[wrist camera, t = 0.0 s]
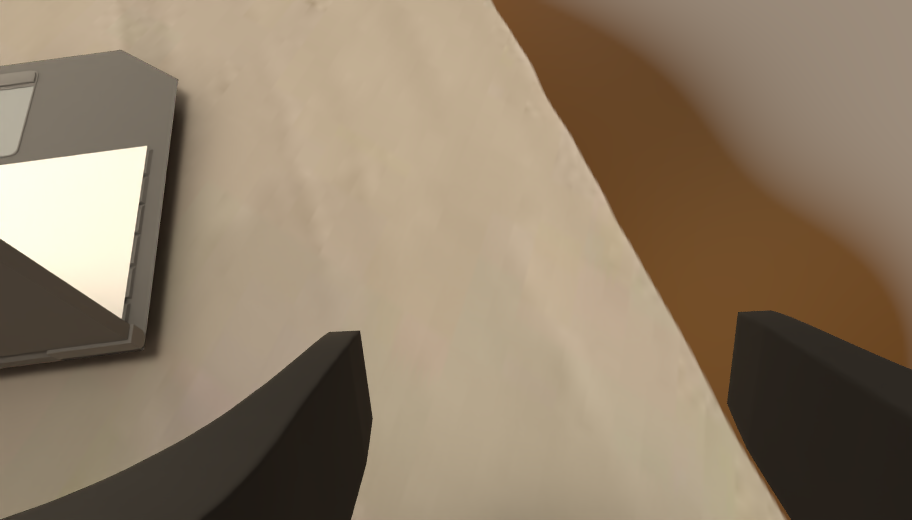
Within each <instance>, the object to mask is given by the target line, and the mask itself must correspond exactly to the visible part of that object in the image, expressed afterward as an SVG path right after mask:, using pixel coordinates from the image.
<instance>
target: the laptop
mask: <svg viewBox="0 0 912 520" xmlns="http://www.w3.org/2000/svg"><path fill="white" fill-rule="evenodd" d="M177 85H178V79H176V78H175V77H173V76H171V75H169V74H167V73H165V72H163V71H161V70H159V69H157V68H155V67H153V66H151V65H149V64H148V63H146V62H144V61H142V60H140V59H138V58H136V57H134V56H132V55H130V54H128V53H126V52H124V51H122V50H117V51H109V52H102V53H94V54H87V55H79V56H72V57H64V58H57V59H49V60H42V61H34V62H27V63H19V64H12V65H4V66H0V369H2V368H9V367H17V366H25V365H32V364H40V363H48V362H55V361H63V360H71V359H79V358H86V357H94V356H102V355H109V354H117V353H125V352H132V351H140V350H144V345H145V338H146V330H147V322H148V314H149V306H150V298H151V290H152V282H153V275H154V267H155V259H156V251H157V243H158V235H159V227H160V219H161V212H162V204H163V196H164V188H165V180H166V172H167V164H168V156H169V148H170V141H171V133H172V125H173V117H174V109H175V101H176V93H177Z"/></svg>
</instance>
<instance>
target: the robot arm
mask: <svg viewBox="0 0 912 520" xmlns="http://www.w3.org/2000/svg"><path fill="white" fill-rule="evenodd" d="M727 404H728V406H729V409H730V411H731V414H732V416H733V418H734V421H735V423H736V425H737V428H738V430H739V432H740V434H741V436H742V439H743V441H744V443H745V445H746V447H747V449H748V451H749V453H750V454H751V456H752V458H753V459H754V461H755V462H756V464H757V466H758V467H759V469H760V471H761V472H762V474H763V476H764V477H765V479H766V480H767V482H768V484H769V485H770V487H771V488H772V490H773V491H774V493H775V495H776V496H777V498H778V499H779V501H780V503H781V504H782V506H783V507H784V509H785V510H786V512H787V514H788V515H789V517H790V518H791V520H912V370H911V369H909V368H906V367H904V366H901V365H899V364H897V363H894V362H892V361H890V360H887V359H885V358H882V357H880V356H878V355H875V354H873V353H871V352H869V351H867V350H864V349H862V348H860V347H857V346H855V345H853V344H850V343H849V342H846V341H844V340H842V339H840V338H837V337H835V336H833V335H831V334H829V333H826V332H824V331H822V330H820V329H817V328H815V327H813V326H810V325H808V324H806V323H804V322H801V321H798V320H796V319H794V318H792V317H789V316H786V315H784V314H781V313H778V312H774V311H751V312H738V317H737V326H736V334H735V343H734V351H733V359H732V367H731V376H730V384H729V392H728V401H727ZM372 419H373V418H372V411H371V404H370V397H369V390H368V383H367V376H366V369H365V362H364V355H363V348H362V341H361V334H360V331H342V332H329V333H327V334H326V335H324V336H323V337H322V338H320V339H319V340H318V341H317V342H315V343H314V344H313V345H312V346H311V347H309V348H308V349H307V350H306V351H305V352H303V353H302V354H301V355H300V356H299V357H298V358H296V359H295V360H294V361H293V362H292V363H290V364H289V365H288V366H287V367H285V368H284V369H283V370H282V371H281V372H279V373H278V374H277V375H276V376H274V377H273V378H272V379H271V380H270V381H268V382H267V383H266V384H264V385H263V386H262V387H260V388H259V389H258V390H256V391H255V392H254V393H252V394H251V395H250V396H248V397H247V398H245V399H244V400H243V401H241V402H240V403H239V404H237V405H236V406H235V407H233V408H232V409H231V410H229V411H228V412H226V413H225V414H223V415H222V416H220V417H219V418H217V419H216V420H214V421H213V422H211V423H210V424H208V425H206V426H205V427H203V428H201V429H200V430H198V431H196V432H195V433H193V434H191V435H190V436H188V437H186V438H185V439H183V440H181V441H180V442H178V443H176V444H174V445H172V446H170V447H169V448H167V449H165V450H163V451H161V452H159V453H157V454H155V455H153V456H151V457H149V458H147V459H145V460H143V461H141V462H139V463H137V464H135V465H133V466H132V467H130V468H128V469H126V470H124V471H122V472H119V473H117V474H115V475H113V476H111V477H108V478H106V479H104V480H102V481H99V482H97V483H95V484H93V485H90V486H88V487H86V488H83V489H81V490H78V491H76V492H73V493H71V494H68V495H66V496H64V497H61V498H59V499H56V500H54V501H51V502H48V503H46V504H43V505H41V506H38V507H35V508H32V509H29V510H27V511H24V512H21V513H18V514H15V515H12V516H9V517H6V518H3V519H0V520H351V517H352V514H353V510H354V506H355V503H356V499H357V496H358V492H359V489H360V485H361V481H362V478H363V474H364V470H365V466H366V462H367V456H368V449H369V442H370V434H371V427H372Z"/></svg>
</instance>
